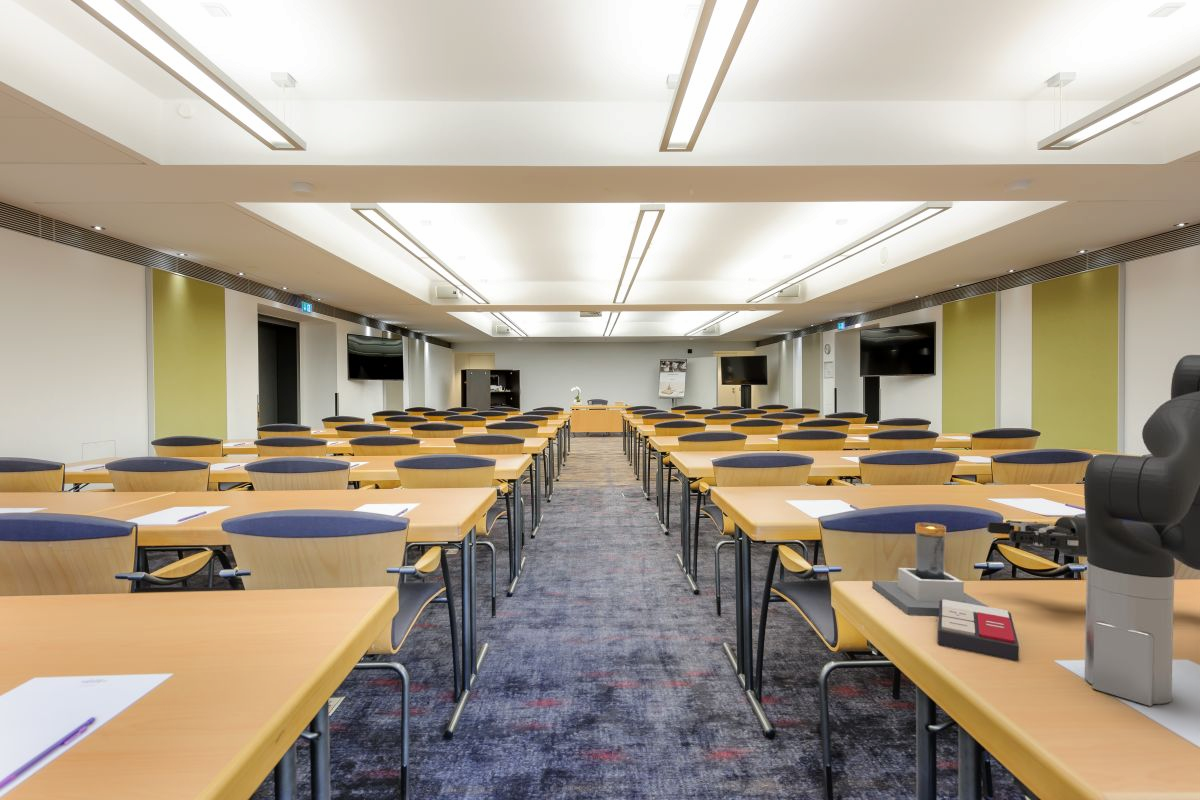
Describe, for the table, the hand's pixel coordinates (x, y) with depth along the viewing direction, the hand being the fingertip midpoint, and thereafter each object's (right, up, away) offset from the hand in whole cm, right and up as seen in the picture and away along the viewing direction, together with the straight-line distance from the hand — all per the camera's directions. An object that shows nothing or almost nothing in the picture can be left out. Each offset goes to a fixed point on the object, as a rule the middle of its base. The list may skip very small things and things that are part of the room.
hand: (998, 531), depth 115 cm
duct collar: (-12, -15, +3) cm, 20 cm away
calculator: (-15, -15, -15) cm, 26 cm away
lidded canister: (-12, -13, +3) cm, 18 cm away
